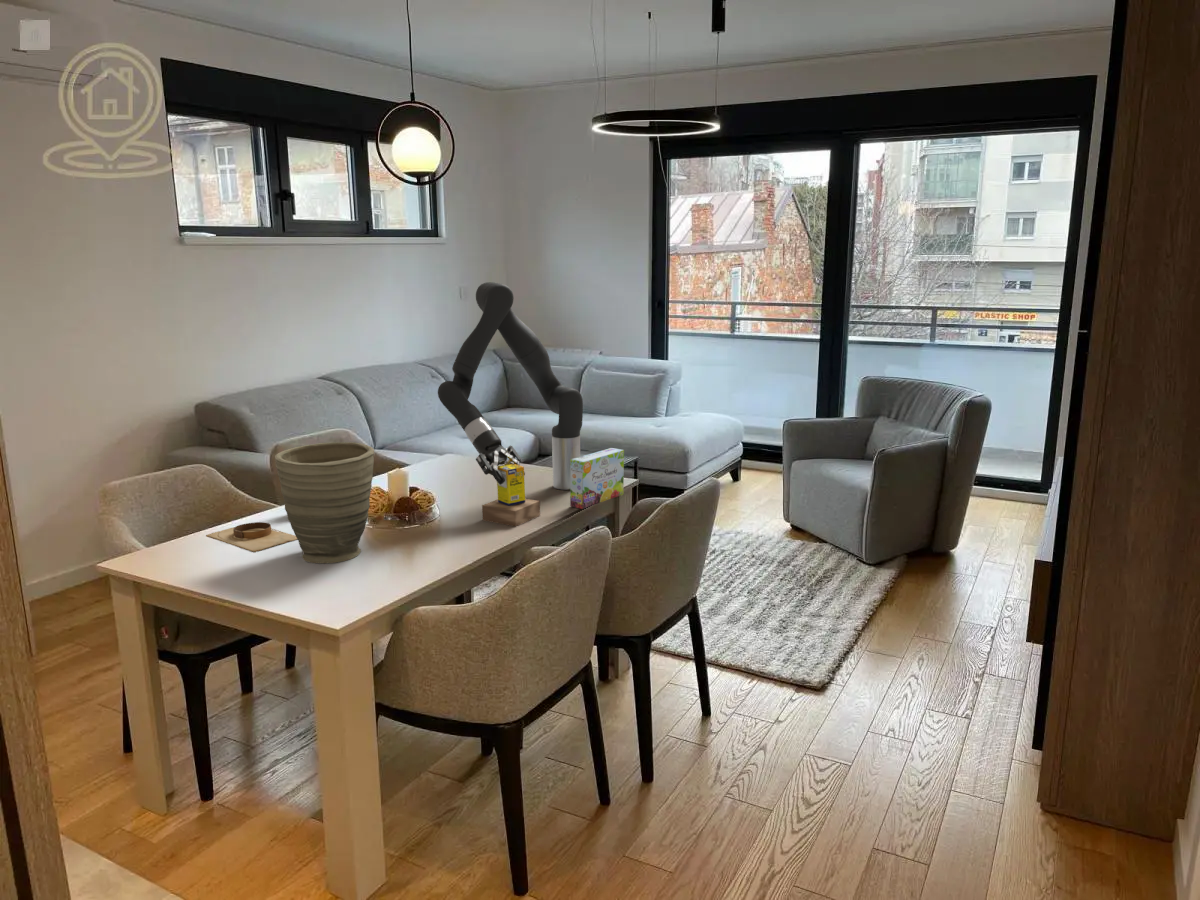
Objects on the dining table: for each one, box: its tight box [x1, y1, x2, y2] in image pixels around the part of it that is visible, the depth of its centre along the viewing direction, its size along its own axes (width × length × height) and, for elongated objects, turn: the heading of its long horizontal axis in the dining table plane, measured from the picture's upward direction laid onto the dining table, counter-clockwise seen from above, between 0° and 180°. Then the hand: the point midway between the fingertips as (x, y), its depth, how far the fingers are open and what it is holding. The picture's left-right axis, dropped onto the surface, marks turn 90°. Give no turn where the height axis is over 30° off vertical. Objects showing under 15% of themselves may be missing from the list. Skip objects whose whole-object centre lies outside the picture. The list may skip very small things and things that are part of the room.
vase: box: [274, 441, 375, 564], centre depth 224 cm, size 24×24×30 cm
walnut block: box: [481, 498, 541, 527], centre depth 257 cm, size 12×12×5 cm
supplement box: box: [496, 462, 526, 506], centre depth 256 cm, size 6×6×11 cm
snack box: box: [569, 447, 625, 510], centre depth 273 cm, size 21×6×15 cm, turn 143°
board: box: [205, 521, 298, 553], centre depth 243 cm, size 25×15×3 cm, turn 54°
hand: (513, 479), depth 255 cm, fingers open, 8 cm apart
